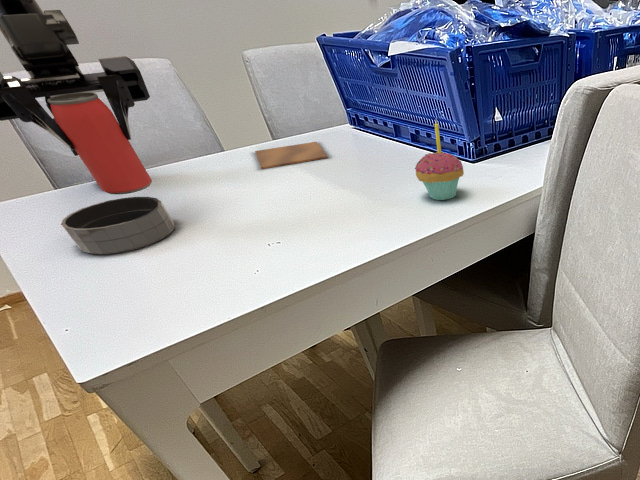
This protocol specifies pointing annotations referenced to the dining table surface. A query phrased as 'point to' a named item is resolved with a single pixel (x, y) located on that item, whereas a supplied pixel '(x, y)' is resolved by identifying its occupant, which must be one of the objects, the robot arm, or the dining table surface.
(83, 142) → the beer can
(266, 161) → the cork mat
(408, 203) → the dining table surface
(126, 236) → the pan
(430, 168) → the cupcake
